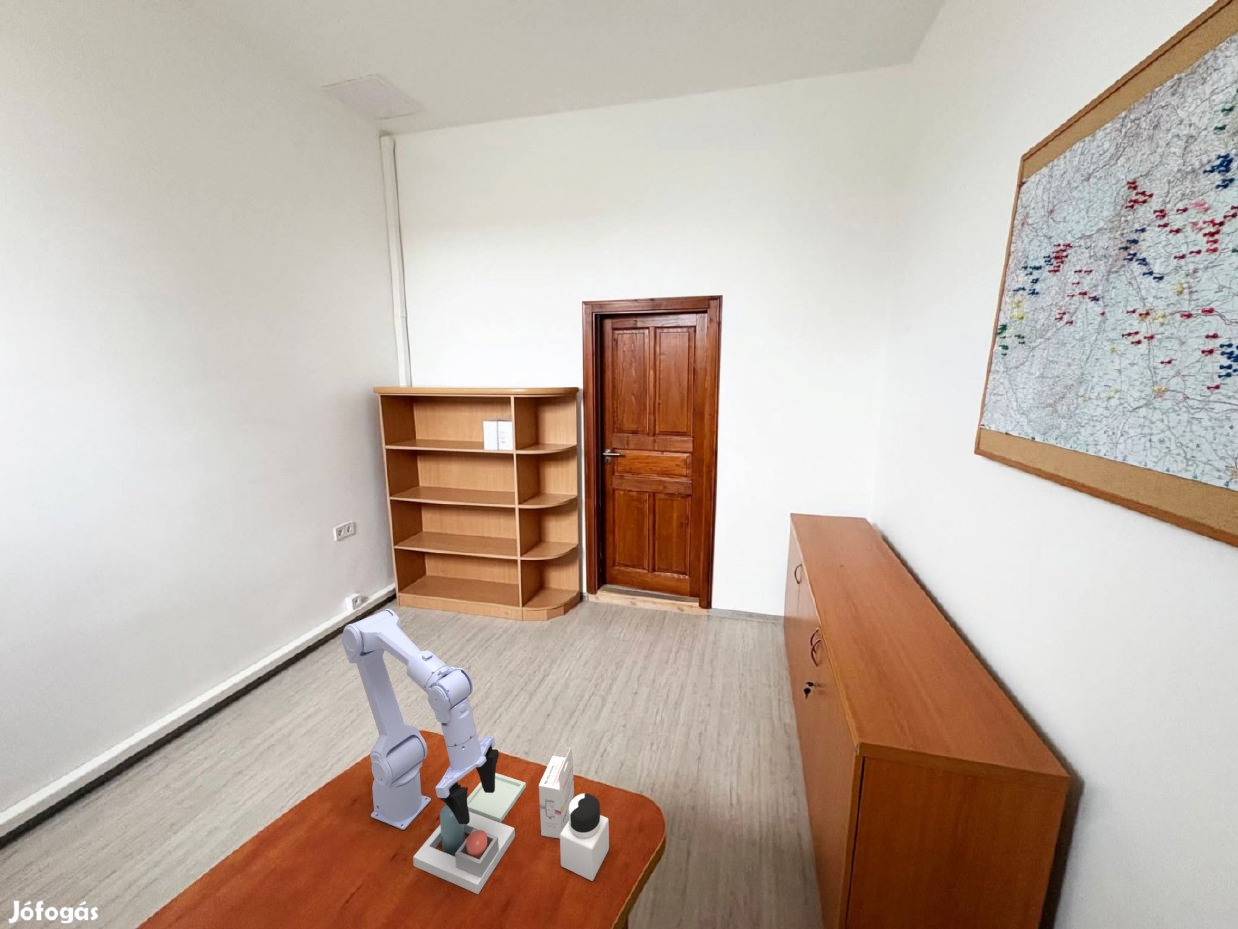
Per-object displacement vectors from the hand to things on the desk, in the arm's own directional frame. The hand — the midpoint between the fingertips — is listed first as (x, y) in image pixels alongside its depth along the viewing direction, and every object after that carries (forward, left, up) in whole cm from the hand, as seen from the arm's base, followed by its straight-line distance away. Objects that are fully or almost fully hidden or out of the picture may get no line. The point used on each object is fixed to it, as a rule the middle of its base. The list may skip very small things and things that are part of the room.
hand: (477, 806), depth 88 cm
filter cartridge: (-7, +1, -13) cm, 15 cm away
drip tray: (-6, +14, -13) cm, 20 cm away
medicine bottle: (+19, +8, -13) cm, 24 cm away
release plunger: (0, -1, -9) cm, 9 cm away
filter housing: (-4, +1, -13) cm, 13 cm away
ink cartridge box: (+10, +14, -13) cm, 21 cm away
